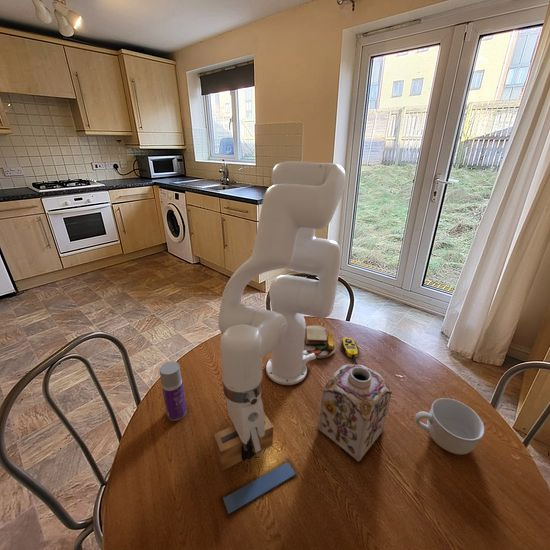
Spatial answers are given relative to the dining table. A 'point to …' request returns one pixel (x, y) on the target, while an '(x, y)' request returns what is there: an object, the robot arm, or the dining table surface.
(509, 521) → the dining table surface
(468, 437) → the teacup
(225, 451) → the token holder
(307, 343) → the toy sandwich meal
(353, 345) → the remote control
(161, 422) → the dining table surface
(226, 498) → the strip
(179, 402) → the container
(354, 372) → the decorative jar
